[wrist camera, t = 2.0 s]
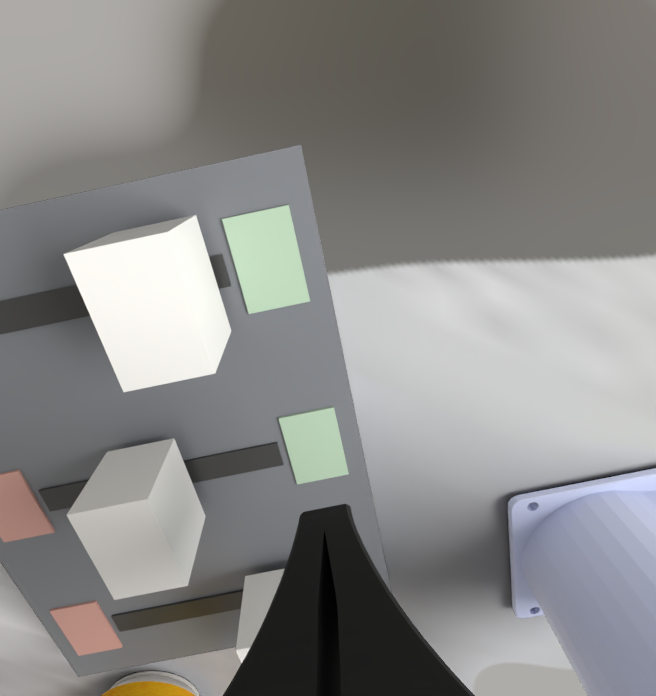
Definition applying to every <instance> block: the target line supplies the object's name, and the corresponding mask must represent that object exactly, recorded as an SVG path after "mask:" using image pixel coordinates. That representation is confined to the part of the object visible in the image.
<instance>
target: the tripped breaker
mask: <svg viewBox="0 0 656 696" xmlns="http://www.w3.org/2000/svg"><path fill="white" fill-rule="evenodd" d="M67 517H68V519H69V521H70V522H71V524H72V526H73V528H74V530H75V531H76V533H77V535H78V537H79V538H80V540H81V542H82V544H83V545H84V547H85V549H86V551H87V553H88V554H89V556H90V558H91V560H92V561H93V563H94V565H95V567H96V569H97V570H98V572H99V574H100V576H101V577H102V579H103V581H104V583H105V584H106V586H107V588H108V590H109V592H110V593H111V595H112V597H113V599H114V600H117V599H123V598H128V597H133V596H138V595H143V594H148V593H154V592H159V591H164V590H169V589H174V588H179V587H185V586H188V583H189V579H190V575H191V571H192V567H193V563H194V560H195V556H196V552H197V548H198V544H199V540H200V536H201V532H202V528H203V525H204V521H205V517H206V516H205V513H204V511H203V508H202V506H201V504H200V501H199V499H198V496H197V494H196V491H195V489H194V486H193V484H192V481H191V479H190V476H189V474H188V471H187V469H186V466H185V464H184V461H183V459H182V456H181V454H180V451H179V449H178V446H177V444H176V441H175V439H174V438H173V439H168V440H163V441H158V442H153V443H148V444H143V445H138V446H133V447H128V448H123V449H118V450H113V451H109V452H107V453H106V454H105V456H104V457H103V459H102V460H101V462H100V464H99V465H98V467H97V468H96V470H95V471H94V473H93V474H92V476H91V478H90V479H89V481H88V482H87V484H86V485H85V487H84V488H83V490H82V492H81V493H80V495H79V496H78V498H77V499H76V501H75V502H74V504H73V506H72V507H71V509H70V510H69V512H68V513H67Z"/></svg>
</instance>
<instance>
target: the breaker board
mask: <svg viewBox="0 0 656 696" xmlns="http://www.w3.org/2000/svg"><path fill="white" fill-rule="evenodd" d="M193 215H196V217H197V220H198V223H199V226H200V230H201V233H202V236H203V240H204V243H205V246H206V249H207V253H208V256H209V259H210V262H211V266H212V269H213V272H214V276H215V279H216V282H217V285H218V289H219V292H220V295H221V298H222V302H223V305H224V308H225V312H226V315H227V318H228V321H229V325H230V328H231V333H230V336H229V339H228V341H227V344H226V347H225V349H224V352H223V355H222V357H221V360H220V362H219V365H218V368H217V370H216V373H215V374H211V375H206V376H201V377H196V378H191V379H187V380H182V381H177V382H172V383H167V384H162V385H157V386H152V387H148V388H143V389H138V390H133V391H128V392H123V390H122V388H121V385H120V383H119V381H118V378H117V376H116V374H115V372H114V369H113V367H112V365H111V362H110V360H109V358H108V355H107V353H106V351H105V349H104V346H103V344H102V342H101V339H100V337H99V335H98V332H97V330H96V328H95V326H94V323H93V321H92V319H91V316H90V314H89V312H88V309H87V307H86V305H85V303H84V300H83V298H82V296H81V293H80V291H79V289H78V286H77V284H76V282H75V280H74V277H73V275H72V273H71V270H70V268H69V266H68V263H67V261H66V259H65V257H64V254H65V253H67V252H69V251H72V250H74V249H76V248H79V247H81V246H83V245H86V244H88V243H90V242H93V241H95V240H97V239H100V238H102V237H104V236H107V235H109V234H111V233H114V232H118V231H123V230H128V229H132V228H137V227H142V226H146V225H151V224H156V223H160V222H165V221H170V220H174V219H179V218H184V217H188V216H193ZM173 438H174V439H175V441H176V444H177V446H178V449H179V451H180V454H181V456H182V459H183V461H184V464H185V466H186V469H187V471H188V474H189V476H190V479H191V481H192V484H193V486H194V489H195V491H196V494H197V496H198V499H199V501H200V504H201V506H202V508H203V511H204V513H205V516H206V517H205V521H204V525H203V528H202V532H201V536H200V540H199V544H198V548H197V552H196V556H195V560H194V563H193V567H192V571H191V575H190V579H189V583H188V586H185V587H179V588H174V589H169V590H164V591H159V592H154V593H148V594H143V595H138V596H133V597H128V598H123V599H117V600H114V599H113V597H112V595H111V593H110V592H109V590H108V588H107V586H106V584H105V583H104V581H103V579H102V577H101V576H100V574H99V572H98V570H97V569H96V567H95V565H94V563H93V561H92V560H91V558H90V556H89V554H88V553H87V551H86V549H85V547H84V545H83V544H82V542H81V540H80V538H79V537H78V535H77V533H76V531H75V530H74V528H73V526H72V524H71V522H70V521H69V519H68V517H67V513H68V512H69V510H70V509H71V507H72V506H73V504H74V502H75V501H76V499H77V498H78V496H79V495H80V493H81V492H82V490H83V488H84V487H85V485H86V484H87V482H88V481H89V479H90V478H91V476H92V474H93V473H94V471H95V470H96V468H97V467H98V465H99V464H100V462H101V460H102V459H103V457H104V456H105V454H106V453H107V452H109V451H113V450H118V449H123V448H128V447H133V446H138V445H143V444H148V443H153V442H158V441H163V440H168V439H173ZM341 504H347V505H349V506H350V507H351V511H352V516H353V520H354V523H355V526H356V528H357V531H358V533H359V535H360V538H361V540H362V542H363V544H364V546H365V548H366V550H367V552H368V554H369V556H370V558H371V560H372V561H373V563H374V565H375V567H376V569H377V570H378V572H379V574H380V576H381V577H382V579H383V580H384V582H385V584H386V585H387V587H388V588H389V590H390V592H391V588H390V583H389V578H388V573H387V568H386V563H385V558H384V553H383V548H382V543H381V538H380V533H379V528H378V523H377V518H376V513H375V509H374V504H373V499H372V494H371V489H370V484H369V479H368V474H367V469H366V464H365V459H364V454H363V449H362V444H361V439H360V434H359V429H358V425H357V420H356V415H355V410H354V405H353V400H352V395H351V390H350V385H349V380H348V375H347V370H346V365H345V360H344V355H343V350H342V345H341V341H340V336H339V331H338V326H337V321H336V316H335V311H334V306H333V301H332V296H331V291H330V286H329V281H328V276H327V271H326V266H325V262H324V257H323V252H322V247H321V242H320V237H319V232H318V227H317V222H316V217H315V212H314V208H313V203H312V197H311V192H310V187H309V182H308V178H307V173H306V168H305V163H304V158H303V153H302V148H301V145H298V146H293V147H289V148H284V149H279V150H274V151H270V152H265V153H261V154H256V155H251V156H247V157H243V158H238V159H233V160H228V161H224V162H219V163H214V164H210V165H206V166H201V167H196V168H191V169H187V170H182V171H178V172H173V173H168V174H164V175H159V176H155V177H150V178H146V179H141V180H136V181H131V182H127V183H122V184H117V185H113V186H108V187H104V188H99V189H94V190H90V191H85V192H80V193H76V194H71V195H67V196H62V197H58V198H53V199H49V200H44V201H39V202H34V203H30V204H25V205H20V206H16V207H11V208H7V209H2V210H0V562H1V563H2V565H3V566H4V568H5V569H6V571H7V572H8V574H9V575H10V577H11V578H12V580H13V581H14V583H15V584H16V586H17V587H18V588H19V590H20V591H21V593H22V594H23V596H24V597H25V599H26V600H27V602H28V603H29V605H30V606H31V608H32V609H33V611H34V612H35V614H36V615H37V617H38V618H39V619H40V621H41V622H42V624H43V625H44V627H45V628H46V630H47V631H48V633H49V634H50V636H51V637H52V639H53V640H54V642H55V643H56V645H57V646H58V647H59V649H60V650H61V652H62V653H63V655H64V656H65V658H66V659H67V661H68V662H69V664H70V665H71V667H72V668H73V670H74V671H75V673H76V674H77V675H78V677H80V676H85V675H91V674H96V673H101V672H107V671H112V670H117V669H122V668H128V667H133V666H138V665H143V664H149V663H154V662H159V661H164V660H170V659H175V658H180V657H186V656H191V655H196V654H201V653H207V652H212V651H217V650H222V649H228V648H233V647H236V644H237V636H238V628H239V620H240V613H241V605H242V597H243V589H244V581H245V576H248V575H253V574H259V573H264V572H269V571H274V570H279V569H284V568H285V566H286V564H287V561H288V558H289V555H290V552H291V548H292V545H293V542H294V538H295V535H296V531H297V527H298V523H299V517H300V515H301V514H302V513H303V512H306V511H311V510H316V509H321V508H326V507H331V506H336V505H341Z"/></svg>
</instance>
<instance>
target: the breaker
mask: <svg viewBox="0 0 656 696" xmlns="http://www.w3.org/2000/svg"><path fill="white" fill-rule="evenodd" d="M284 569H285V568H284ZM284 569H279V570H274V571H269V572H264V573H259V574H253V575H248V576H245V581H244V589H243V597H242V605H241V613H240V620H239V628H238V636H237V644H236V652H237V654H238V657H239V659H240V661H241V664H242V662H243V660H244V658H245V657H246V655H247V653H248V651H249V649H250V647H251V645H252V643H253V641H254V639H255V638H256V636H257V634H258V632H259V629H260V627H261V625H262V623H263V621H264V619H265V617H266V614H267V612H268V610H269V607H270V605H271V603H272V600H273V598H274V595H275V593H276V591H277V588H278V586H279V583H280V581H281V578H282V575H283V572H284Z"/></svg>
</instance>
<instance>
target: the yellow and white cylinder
mask: <svg viewBox="0 0 656 696" xmlns="http://www.w3.org/2000/svg"><path fill="white" fill-rule="evenodd" d="M101 696H200V695H199V693H198V691H197V689H196V688H195V687H194V686H193V685H192V684H191V683H190V682H189V681H187V680H186V679H184V678H182V677H180V676H178V675H175V674H171V673H167V672H161V671H145V672H138V673H134V674H131V675H128V676H126V677H124V678H122V679H120V680H119V681H117V682H116V683H115V684H114V685H113V686H112V687H111V688H110V689H109V690H108V691H106V692H105V693H103V694H102V695H101Z"/></svg>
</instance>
